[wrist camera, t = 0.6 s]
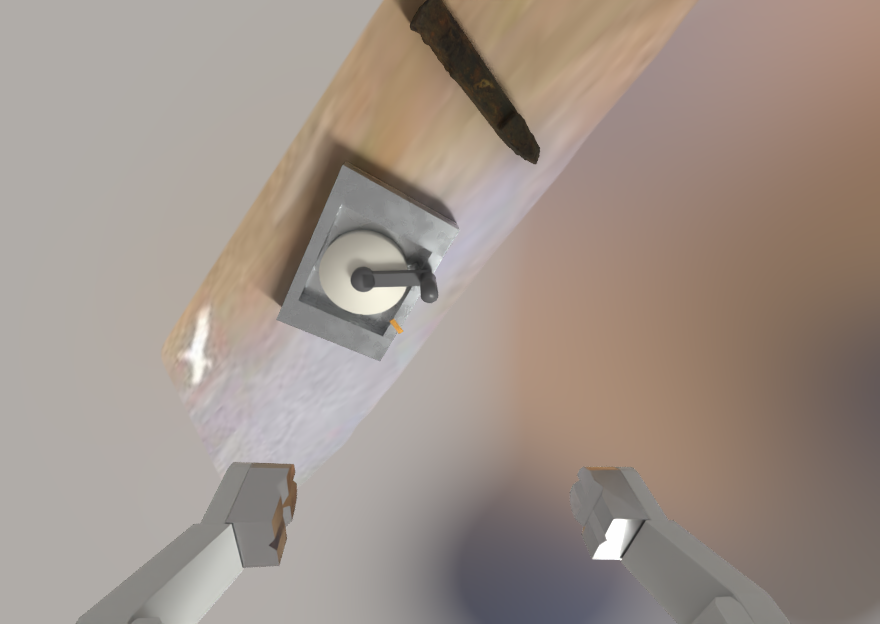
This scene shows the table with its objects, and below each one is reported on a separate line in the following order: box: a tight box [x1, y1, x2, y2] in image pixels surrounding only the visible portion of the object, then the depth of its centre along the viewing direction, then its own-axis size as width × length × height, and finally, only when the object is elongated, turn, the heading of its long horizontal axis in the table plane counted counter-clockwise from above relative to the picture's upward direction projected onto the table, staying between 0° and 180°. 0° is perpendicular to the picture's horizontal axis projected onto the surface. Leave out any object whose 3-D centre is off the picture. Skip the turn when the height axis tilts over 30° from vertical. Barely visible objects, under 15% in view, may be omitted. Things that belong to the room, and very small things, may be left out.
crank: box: [319, 230, 438, 315], centre depth 45 cm, size 11×14×8 cm
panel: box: [276, 161, 459, 361], centre depth 48 cm, size 22×16×3 cm
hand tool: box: [410, 0, 540, 164], centre depth 38 cm, size 19×4×5 cm, turn 40°
